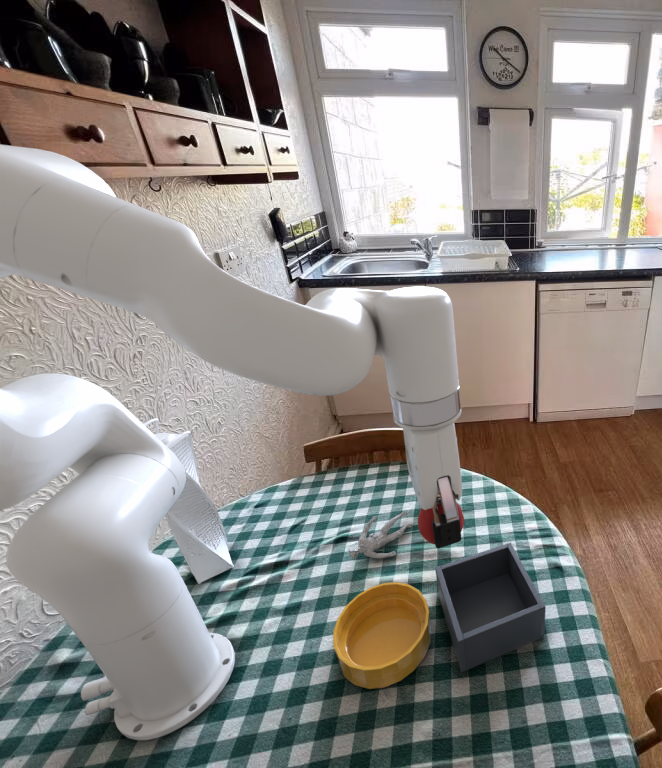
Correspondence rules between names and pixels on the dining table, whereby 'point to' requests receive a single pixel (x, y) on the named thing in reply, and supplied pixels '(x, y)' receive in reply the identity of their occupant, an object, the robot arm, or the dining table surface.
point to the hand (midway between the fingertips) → (441, 524)
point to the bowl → (382, 635)
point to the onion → (427, 518)
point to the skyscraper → (195, 515)
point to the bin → (489, 605)
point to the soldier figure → (378, 539)
